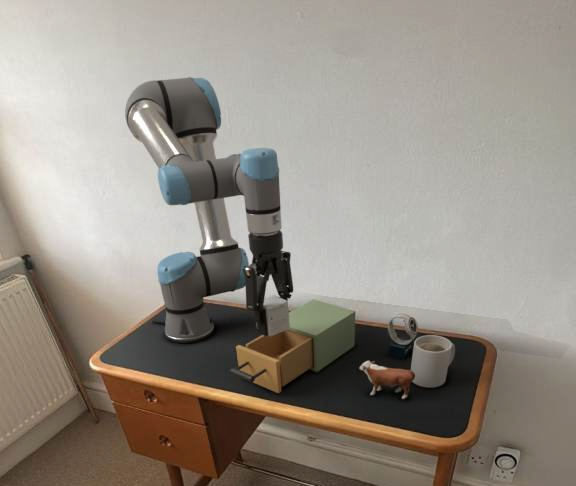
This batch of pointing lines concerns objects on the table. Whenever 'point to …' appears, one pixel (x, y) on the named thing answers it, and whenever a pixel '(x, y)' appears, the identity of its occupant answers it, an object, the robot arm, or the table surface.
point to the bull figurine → (388, 377)
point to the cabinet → (325, 329)
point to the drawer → (275, 359)
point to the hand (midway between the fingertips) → (273, 328)
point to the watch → (402, 345)
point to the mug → (431, 360)
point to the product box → (276, 314)
